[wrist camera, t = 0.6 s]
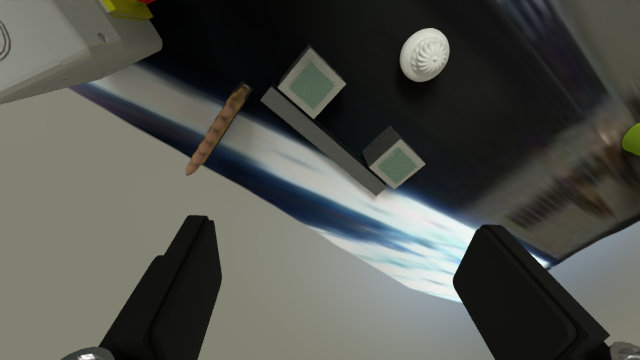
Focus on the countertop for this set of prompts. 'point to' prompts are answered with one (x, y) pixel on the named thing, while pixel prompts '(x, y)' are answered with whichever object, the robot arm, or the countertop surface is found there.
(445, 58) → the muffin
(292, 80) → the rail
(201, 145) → the ammunition clip
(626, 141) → the soap dispenser
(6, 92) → the electrical switch box
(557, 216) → the countertop surface
